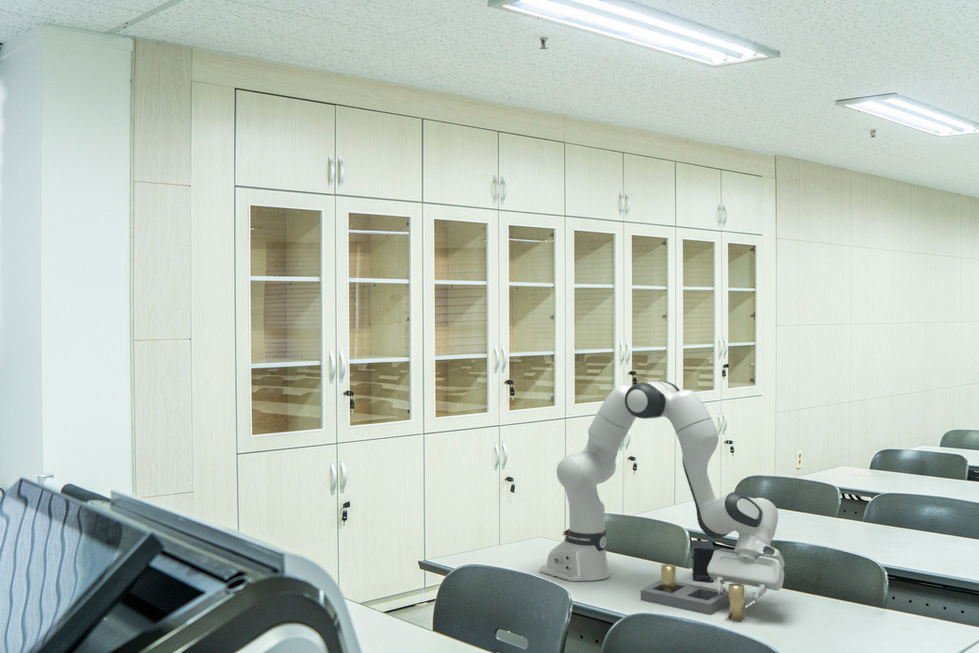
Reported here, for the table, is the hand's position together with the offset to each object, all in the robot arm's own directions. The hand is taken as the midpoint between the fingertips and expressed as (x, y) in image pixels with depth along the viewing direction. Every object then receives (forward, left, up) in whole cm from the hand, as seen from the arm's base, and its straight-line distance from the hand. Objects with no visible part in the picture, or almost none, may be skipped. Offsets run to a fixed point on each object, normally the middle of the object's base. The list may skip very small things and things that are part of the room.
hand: (737, 596), depth 230 cm
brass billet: (0, -1, -6) cm, 6 cm away
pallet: (-17, +3, -6) cm, 18 cm away
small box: (-24, +31, -6) cm, 40 cm away
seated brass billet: (-22, +3, -5) cm, 23 cm away
